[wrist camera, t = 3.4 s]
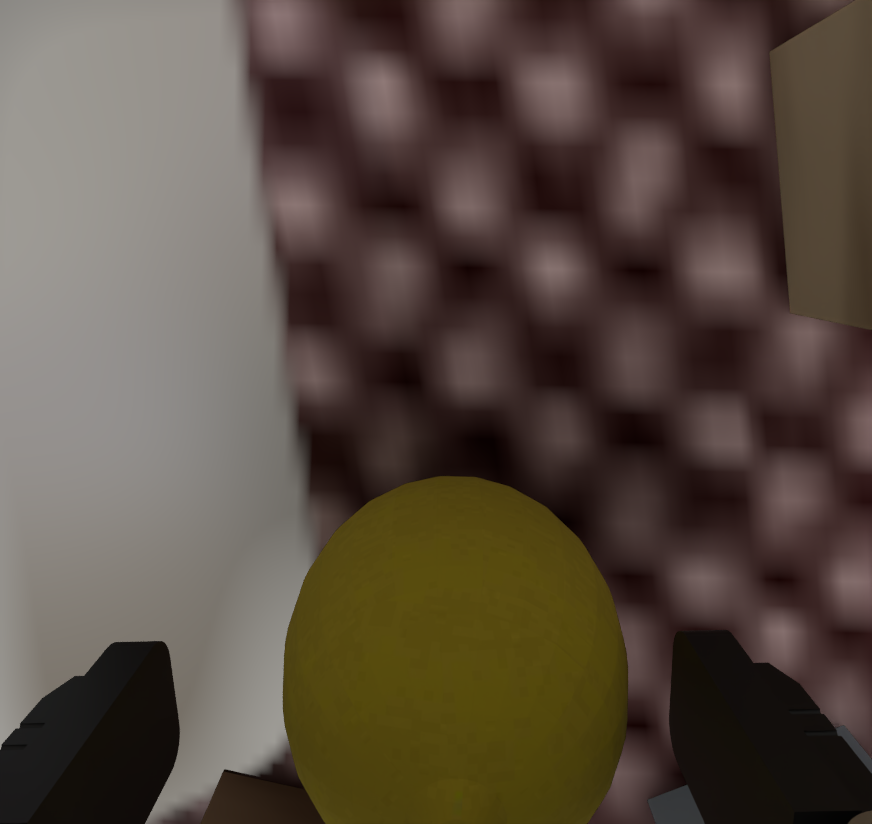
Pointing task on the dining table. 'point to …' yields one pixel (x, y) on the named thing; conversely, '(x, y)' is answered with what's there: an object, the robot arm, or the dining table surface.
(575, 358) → the dining table surface
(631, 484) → the dining table surface
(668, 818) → the block slate
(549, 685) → the lemon
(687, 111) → the dining table surface
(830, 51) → the block oak
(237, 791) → the block walnut
